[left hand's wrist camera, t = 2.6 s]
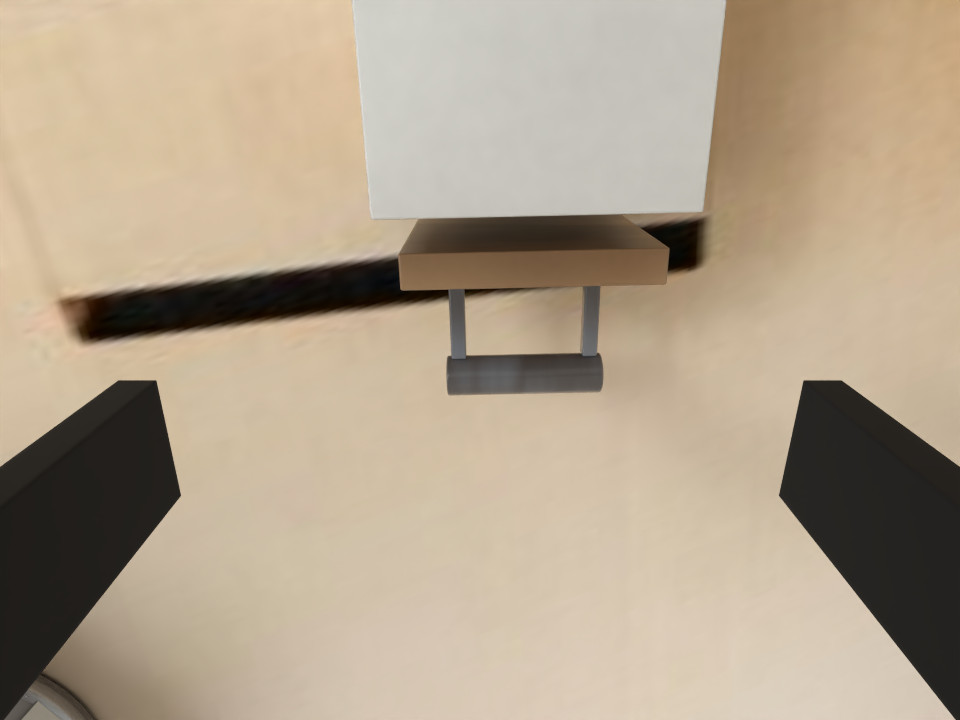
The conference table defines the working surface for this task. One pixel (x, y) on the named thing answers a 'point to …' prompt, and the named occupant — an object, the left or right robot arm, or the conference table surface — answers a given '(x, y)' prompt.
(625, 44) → the cabinet
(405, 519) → the conference table surface
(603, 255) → the drawer
